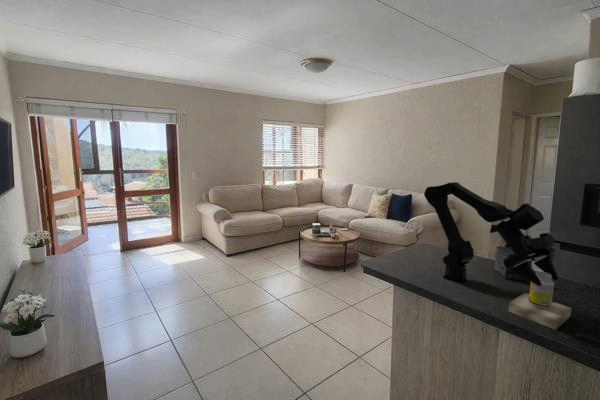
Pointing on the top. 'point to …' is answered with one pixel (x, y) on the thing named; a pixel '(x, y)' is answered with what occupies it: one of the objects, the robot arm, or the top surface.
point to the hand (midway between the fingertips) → (548, 282)
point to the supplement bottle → (542, 291)
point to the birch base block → (540, 312)
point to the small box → (500, 268)
